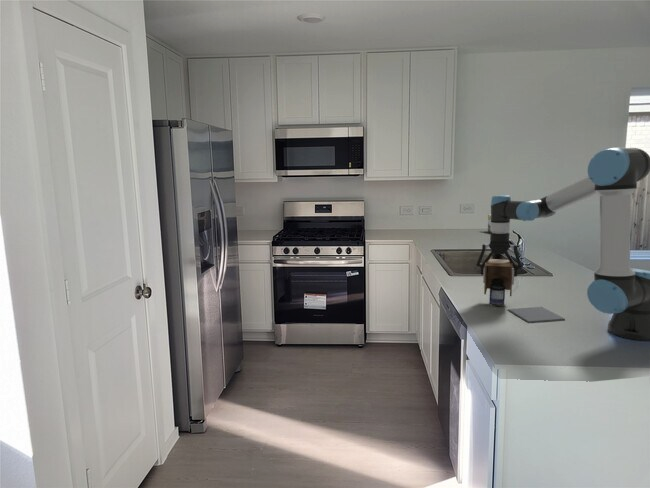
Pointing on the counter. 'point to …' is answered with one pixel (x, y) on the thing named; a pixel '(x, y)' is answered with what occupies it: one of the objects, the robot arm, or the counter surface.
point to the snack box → (489, 223)
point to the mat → (536, 314)
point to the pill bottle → (497, 292)
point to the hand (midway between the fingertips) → (498, 283)
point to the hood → (498, 273)
